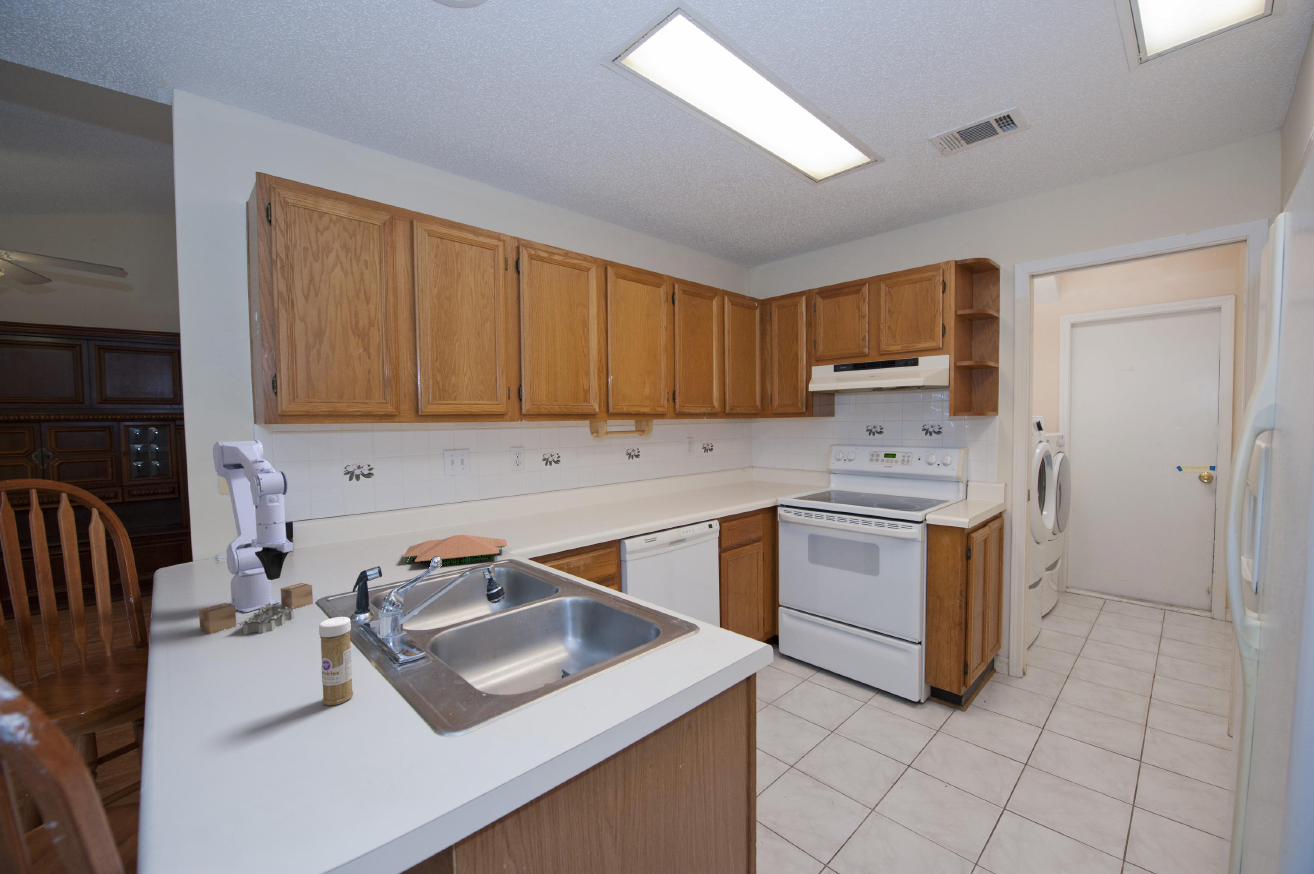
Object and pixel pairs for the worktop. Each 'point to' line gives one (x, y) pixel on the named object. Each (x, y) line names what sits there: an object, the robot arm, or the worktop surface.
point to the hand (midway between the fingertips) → (273, 578)
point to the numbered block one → (296, 595)
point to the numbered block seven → (217, 618)
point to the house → (455, 548)
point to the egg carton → (267, 619)
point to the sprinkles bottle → (336, 660)
